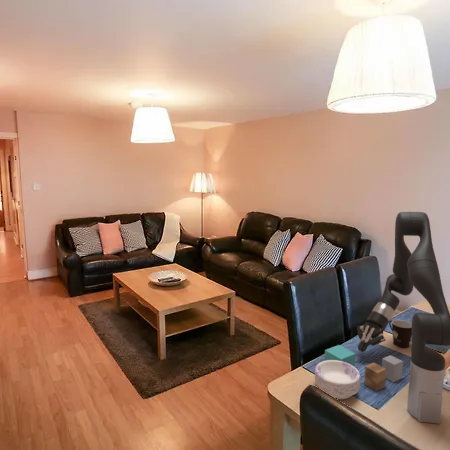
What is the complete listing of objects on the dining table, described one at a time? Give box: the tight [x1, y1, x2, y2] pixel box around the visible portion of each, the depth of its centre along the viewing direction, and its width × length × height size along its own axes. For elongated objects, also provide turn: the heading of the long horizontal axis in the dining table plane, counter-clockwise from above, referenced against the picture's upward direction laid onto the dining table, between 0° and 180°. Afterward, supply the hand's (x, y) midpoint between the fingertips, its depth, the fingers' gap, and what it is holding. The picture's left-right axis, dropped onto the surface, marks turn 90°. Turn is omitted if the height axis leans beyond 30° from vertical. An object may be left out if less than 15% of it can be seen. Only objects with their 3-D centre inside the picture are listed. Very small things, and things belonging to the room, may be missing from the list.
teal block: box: [324, 344, 356, 368], centre depth 132 cm, size 8×8×8 cm
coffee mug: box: [388, 319, 412, 349], centre depth 153 cm, size 12×9×10 cm
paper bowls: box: [314, 360, 361, 400], centre depth 120 cm, size 15×15×8 cm
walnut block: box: [363, 362, 387, 392], centre depth 123 cm, size 5×5×7 cm
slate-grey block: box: [381, 354, 404, 383], centre depth 128 cm, size 5×5×7 cm
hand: (360, 350), depth 138 cm, fingers closed
